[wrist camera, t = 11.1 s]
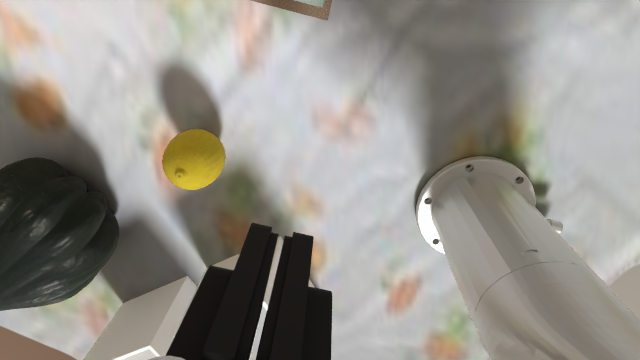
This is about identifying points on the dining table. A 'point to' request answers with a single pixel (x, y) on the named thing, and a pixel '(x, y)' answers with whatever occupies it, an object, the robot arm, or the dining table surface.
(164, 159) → the lemon
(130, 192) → the dining table surface
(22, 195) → the squash
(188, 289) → the storage container
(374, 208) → the dining table surface
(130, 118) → the dining table surface
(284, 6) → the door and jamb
